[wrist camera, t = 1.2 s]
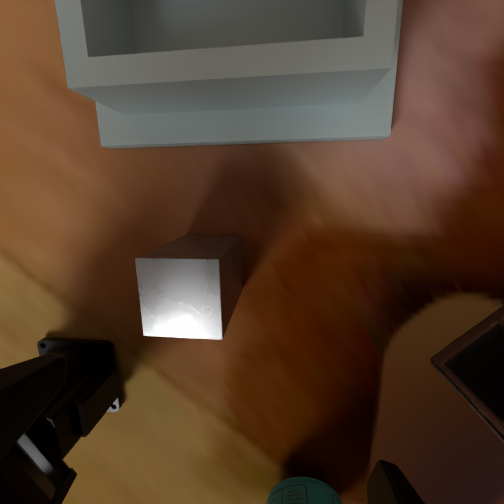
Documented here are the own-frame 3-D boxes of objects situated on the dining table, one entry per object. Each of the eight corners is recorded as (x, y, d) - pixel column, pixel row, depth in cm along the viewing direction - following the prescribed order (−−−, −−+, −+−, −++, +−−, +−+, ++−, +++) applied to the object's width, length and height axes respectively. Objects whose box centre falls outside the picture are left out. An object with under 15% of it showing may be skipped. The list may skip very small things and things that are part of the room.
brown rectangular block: (190, 286, 20) (143, 335, 13) (186, 234, 19) (134, 258, 12) (242, 288, 20) (222, 339, 13) (241, 234, 19) (218, 259, 12)
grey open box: (110, 148, 18) (40, 131, 13) (83, -67, 16) (-19, -200, 10) (384, 139, 16) (432, 114, 11) (406, -110, 14) (484, -301, 8)
